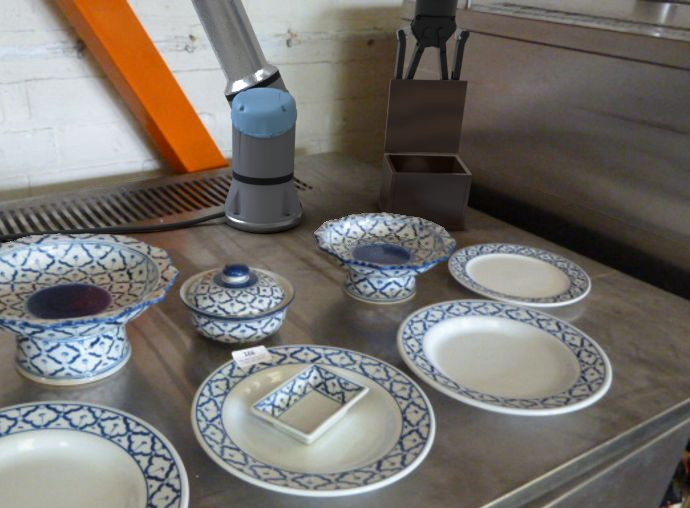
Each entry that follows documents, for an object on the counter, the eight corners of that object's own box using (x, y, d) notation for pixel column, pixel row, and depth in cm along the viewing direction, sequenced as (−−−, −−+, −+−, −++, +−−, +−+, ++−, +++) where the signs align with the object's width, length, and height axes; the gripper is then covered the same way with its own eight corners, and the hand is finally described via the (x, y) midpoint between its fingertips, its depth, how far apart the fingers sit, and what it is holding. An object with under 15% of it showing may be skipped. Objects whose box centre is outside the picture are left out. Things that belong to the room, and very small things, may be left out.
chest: (462, 230, 125) (472, 175, 120) (385, 228, 125) (392, 173, 120) (449, 206, 136) (457, 155, 131) (378, 204, 136) (383, 153, 131)
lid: (468, 80, 125) (461, 79, 129) (390, 78, 125) (387, 77, 130) (458, 153, 130) (452, 149, 135) (384, 151, 130) (381, 147, 135)
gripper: (391, -7, 117) (378, 125, 129) (492, -6, 116) (470, 127, 128) (385, -11, 123) (373, 116, 135) (481, -9, 123) (461, 118, 135)
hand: (420, 121), depth 132 cm, fingers closed on lid, 5 cm apart
